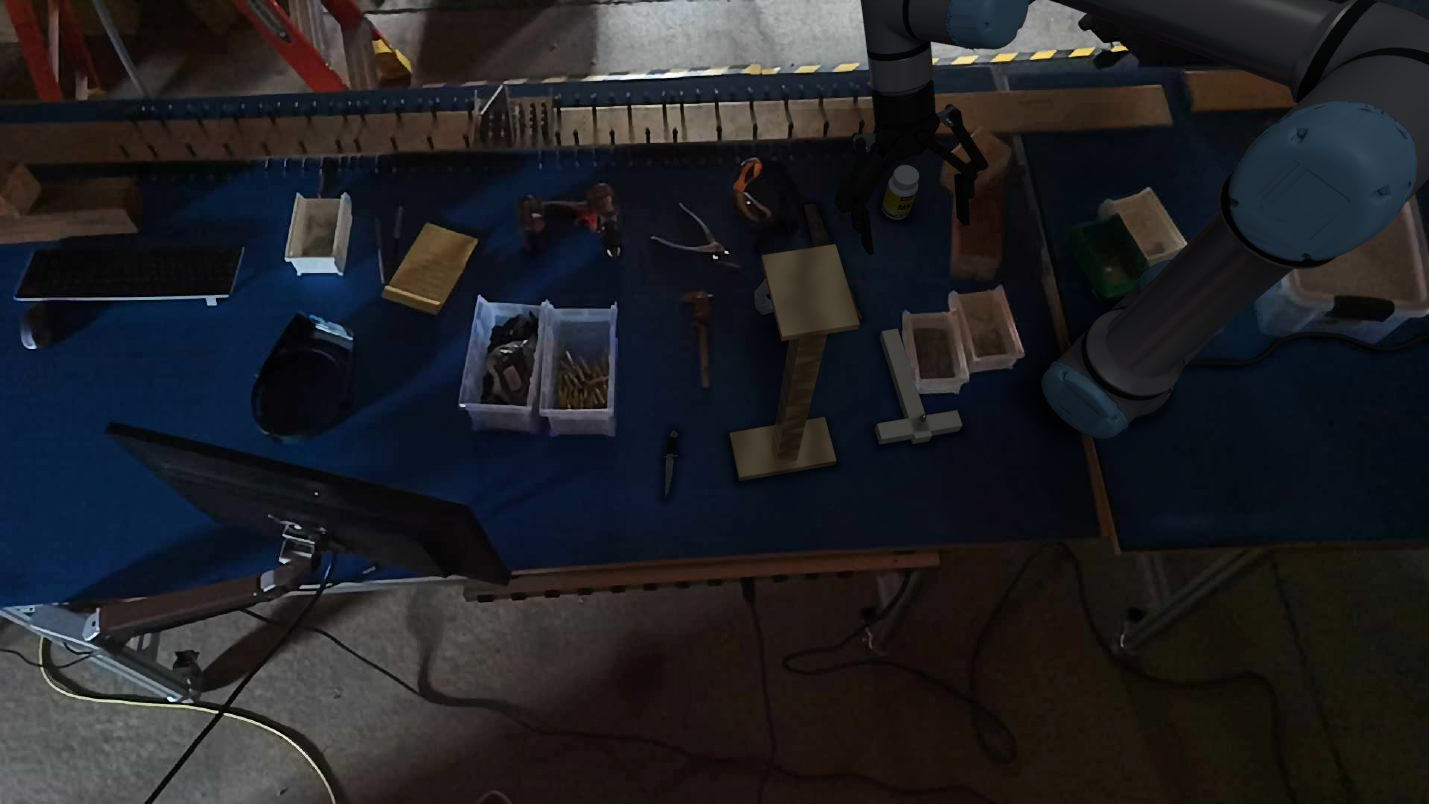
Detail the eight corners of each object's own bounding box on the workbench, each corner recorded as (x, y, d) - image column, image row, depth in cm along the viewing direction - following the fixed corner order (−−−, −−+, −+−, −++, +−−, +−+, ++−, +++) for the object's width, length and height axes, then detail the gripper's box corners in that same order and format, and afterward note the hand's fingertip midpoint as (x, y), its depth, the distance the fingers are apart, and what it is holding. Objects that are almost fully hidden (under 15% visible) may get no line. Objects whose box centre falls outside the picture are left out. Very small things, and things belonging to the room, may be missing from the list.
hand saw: (788, 208, 143) (788, 206, 142) (814, 203, 143) (815, 200, 143) (834, 329, 132) (835, 326, 132) (863, 322, 133) (863, 320, 132)
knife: (668, 498, 120) (668, 497, 120) (655, 495, 120) (655, 494, 120) (682, 432, 125) (682, 431, 124) (670, 430, 125) (670, 429, 125)
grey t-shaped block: (925, 330, 132) (932, 313, 128) (960, 435, 125) (970, 421, 120) (849, 342, 131) (854, 325, 127) (880, 449, 124) (886, 435, 119)
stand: (819, 405, 127) (863, 239, 91) (836, 468, 122) (889, 319, 86) (726, 421, 125) (733, 259, 90) (739, 484, 121) (752, 341, 85)
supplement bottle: (894, 225, 141) (905, 191, 134) (875, 206, 143) (884, 172, 135) (916, 211, 143) (927, 176, 135) (897, 193, 144) (907, 158, 137)
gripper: (986, 45, 108) (990, 197, 121) (795, 103, 108) (820, 249, 121) (1014, 63, 102) (1015, 220, 115) (812, 124, 102) (836, 275, 115)
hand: (915, 235), depth 118 cm, fingers open, 13 cm apart
